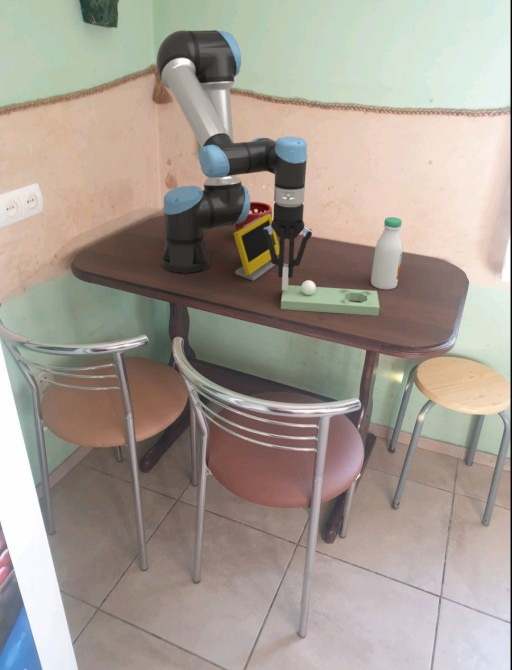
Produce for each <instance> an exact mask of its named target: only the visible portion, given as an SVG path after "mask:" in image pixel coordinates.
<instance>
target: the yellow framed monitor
mask: <svg viewBox="0 0 512 670" xmlns="http://www.w3.org/2000/svg"><path fill="white" fill-rule="evenodd" d="M272 217H273V216H272ZM272 217H271V214H267V215H265V216H263V217H259V218H257V219H255V220H254V221H252V222H250V223H248V224H246V225H245V226H243V228H242V229H240V230H238V231H237V230H236V231H235V232H233V236H234V241H235V243H236V247H237V250H238V254H239V257H240V261H241V264H242V266H240V267H239V268H237V269H236V270H235V271H234V274H235V275H237V276H239V277H242V278H244V279H247V280H250V281H252V282H254V281H256V280H257V279H258V278H259V277H261V276H262V275H263V274H265V273H266V272H268V271H269V270H270V269H272V268H273V267H275V265H276V264H272V260H271V256H270V251H269V247H268V242H267V238H266V237H265V235H264V234H263V229H264V227H268V226H270V225H271V223H272V221H273V218H272ZM272 231H273V233H272V237H273V241H274V246H275V250H276V255H277V256H279V244H280V243H279V240H278V236H277V234H276V233H275V231H274V230H273V229H272Z"/></svg>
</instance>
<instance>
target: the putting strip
mask: <svg viewBox="0 0 512 670" xmlns="http://www.w3.org/2000/svg"><path fill="white" fill-rule="evenodd" d="M301 286H302V285H290V284H288V289H287V290H282V294H281V300H280V309H281V310H290V311H291V310H292V311H306V312H319V313H334V314H345V315H347V314H348V315H362V316H363V315H364V316H374V317H375V316H376V317H378V316H379V314H380V308H381V307H380V300H379V295H378V291H377V290H368V289H353V288H337V287H336V288H335V287H325V286H324V287H322V286H316V290H315V292H314V293H313V294H311V295H306V294H304V293H303V292H302V290H301ZM354 301H355V302H354ZM356 301H357V302H356Z"/></svg>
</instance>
